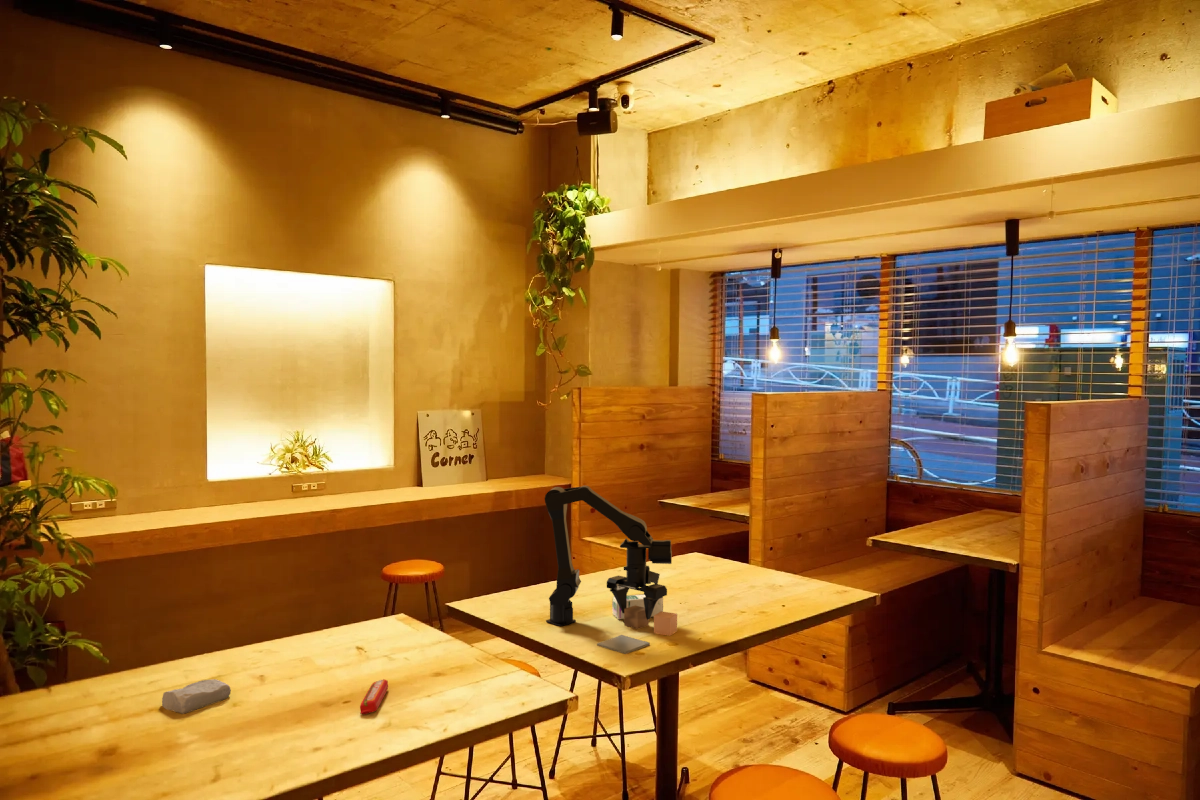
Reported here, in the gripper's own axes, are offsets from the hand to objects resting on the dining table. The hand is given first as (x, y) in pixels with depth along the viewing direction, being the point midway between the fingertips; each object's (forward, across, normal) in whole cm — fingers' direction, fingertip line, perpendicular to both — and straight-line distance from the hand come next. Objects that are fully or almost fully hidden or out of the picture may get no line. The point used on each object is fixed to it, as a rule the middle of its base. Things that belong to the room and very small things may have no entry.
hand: (636, 616), depth 237 cm
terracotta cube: (+3, -10, -1) cm, 10 cm away
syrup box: (0, +2, -14) cm, 14 cm away
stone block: (+3, +35, +110) cm, 115 cm away
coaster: (+3, -9, +16) cm, 18 cm away
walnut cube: (+3, 0, 0) cm, 3 cm away
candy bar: (+3, +6, +83) cm, 83 cm away
